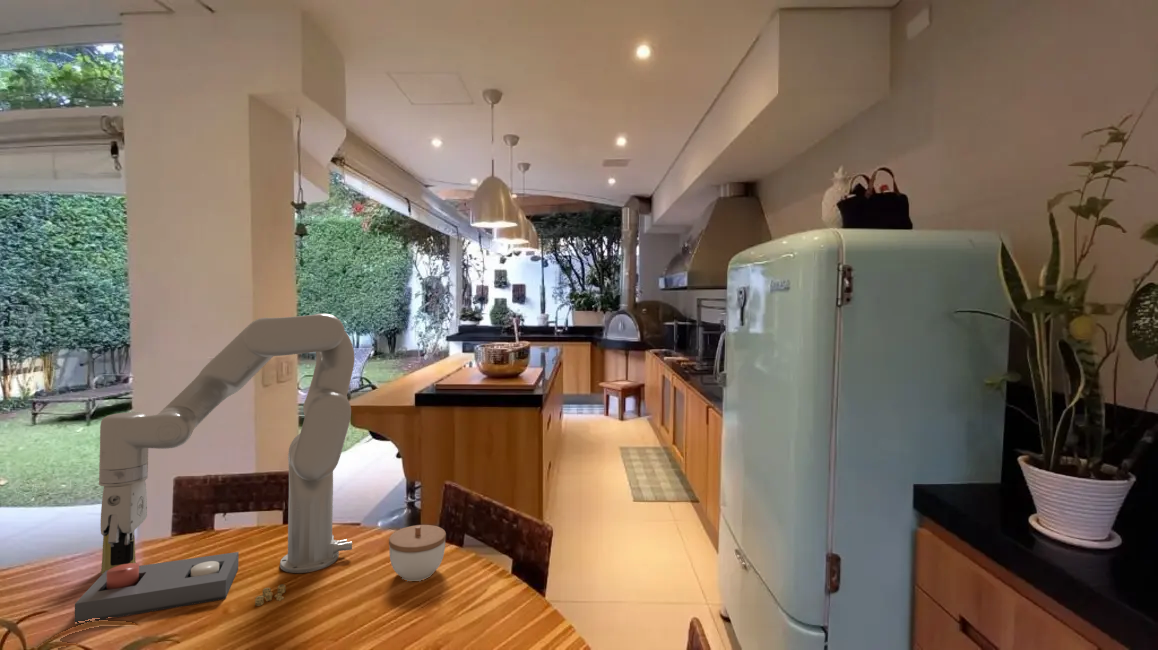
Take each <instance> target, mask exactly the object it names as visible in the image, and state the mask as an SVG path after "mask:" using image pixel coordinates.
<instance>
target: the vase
mask: <svg viewBox="0 0 1158 650" xmlns="http://www.w3.org/2000/svg"><path fill="white" fill-rule="evenodd" d="M102 536H103V535H102ZM135 536H136V535H135V534H134V539H133V540H132V541H134V550H133V560H132V561H131V562H130V563H137V562H136V539H135V538H136V537H135ZM102 538H103V539H102V555H101V567H100V569H101V570H100V574H101V575H102V574H103V573H104V572H105V571H106V570H109V569H111V568H113V567H116V566H119V565H114V566H112V565H111V564H110V561H111V546H110V544H108V538H109V534H108V535H107V536H103V537H102ZM121 565H123V564H121Z"/></svg>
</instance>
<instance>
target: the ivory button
mask: <svg viewBox="0 0 1158 650" xmlns="http://www.w3.org/2000/svg"><path fill="white" fill-rule="evenodd" d="M215 573H219V562H217V561H208V562H203V563H200V564H197V565H195V566H193V567H192V568H191V577H195V576H202V575H208V574H215Z"/></svg>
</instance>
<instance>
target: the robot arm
mask: <svg viewBox="0 0 1158 650" xmlns="http://www.w3.org/2000/svg"><path fill="white" fill-rule="evenodd" d="M306 353H307V354H308V353H315V355H316V361H315V362H316V363H315V366H314V370H313V375H312V378H311V383H310V385H309V389H308V392H307V394H306V397H305V400H304V403H303V407H302V411H303V415H304V418H303V422H302V426H301V429H300V433H299V434H297V435H296V436H295V437H294V438H293V440H292V441H291V442H290V445H289V446H288V447H289V448H288V452H287V453H288V454H287V455H288V457H287V459H288V461H287V462H288V511H287V512H288V518H287V524H288V525H287V554H285V555H284V556H283V557H282V558H281V559H280V562H279V566H280V569H281V570H282V571H283V572H286V573H291V574H304V573H306V574H307V573H311V572H316V571H319V570H323V569H325V568H327V567H330V566H331V565H332V564H334V563H335V562H336V561H337V560H338V559H339V555H340V552H343V551H351V550H353V541H352V540H351V541H348V539H347V538H346V539H341V540H337V539H334V537H335V536H334V534H333V515H334V514H333V508H334V505H333V501H334V471H335V469H336V468H337V466H338V464H339V462H340V459H341V454H342V452H343V448H344V444H345V442H346V438H347V433H348V430H349V427H350V422H351V417H352V407H351V403H350V401H349V399H348V393H349V389H350V385H351V380H352V376H353V372H354V367H355V366H354V365H355V350H354V346H353V343H352V341H351V338H350V337H349V334H348V332H347V331H346V330H345V327H344V324H343V323H342V321H341V319H339V318H338V317H336V316H335V315H334V314H329V313H315V314H308V315H298V316H283V317H260V318H257V319H255V320H253V321H252V322H250V323H249V324H248V325H247V326H246V327H245V328H244V329H243V330H242V331H241V332H240V333H239V334H238V335H237V336H235V337H234V338H233V340H231V341H230V342H229V343H228V344H227V345H226V346H225V347H224V348H223V349H222V350H221V351H220V352H218V353H217V354H216V356H214V357H213V358H212V359H211V360H210V361H209V362H208V363H207V364H206V365H205V366H204V367H203V368H202V369H201V371H200V372H199V374H198V375H197V376H196V377H195V378H194V379H193V380H192V381H191V383H189V384H188V385H187V386H186V387H185V388H184V389H183V390H181V392H179V393H178V395H177V396H176V397H175V398H173V399H172V401H170V402H169V403H168V404H166V406H165V407H164V408H163V409H162V410H161V411H159V413H158V414H153V415H147V414H146V413H142V412H120V413H119V412H118V413H113V414H108V415H107V416H105V417H103V418H102V419H101V421H100V425H99V426H100V427H99V470H98V471H99V474H98V476H99V477H98V485H99V486H100V487H103V491H102V497H101V498H102V500H101V508H100V510H101V511H100V534H101V535H102V536H107V535H108V534H109V538H108V544H110V546H111V561H110V564H111V565H112V566H114V565H121V564H128V563H130V562H131V561H132V560H133V550H134V541H132V540H133V539H134V535H135V530H136V529H137V528H139V527H140V526H141V524H143V523H144V521H145V520H146V519H147V517H148V503H147V501H148V499H147V484H146V480H147V479H148V478H149V476H148V475H149V474H148V473H149V449H159V450H161V449H163V450H165V449H166V450H167V449H175V448H178V447H180V446H183V445H184V444H185V443H186V442H187V441H189V439H190V438H191V435H192V434H193V432H194V430H195V429H196V427H198V426H199V424H201V423H202V422H203V421H204V419H206V418H207V416H208V415H209V414H211V412H213V411H214V409H216V408H217V407H218V406H220V404H221V403H223V401H225V400H226V399H227V398H229V397H231V396H232V395H234V394H236V393H238V392H239V391H240V390H241V389H242V388H244V387H245V386H246V384H247V383H248V382H249V381H251V379H253V378H254V376H256V374H257V373H259V372H260V370H261V369H262V368H264V366H266V364H267V363H269V362H270V360H272V359H273V357H278V356H279V357H280V356H283V357H284V356H291V355H301V354H306Z"/></svg>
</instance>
